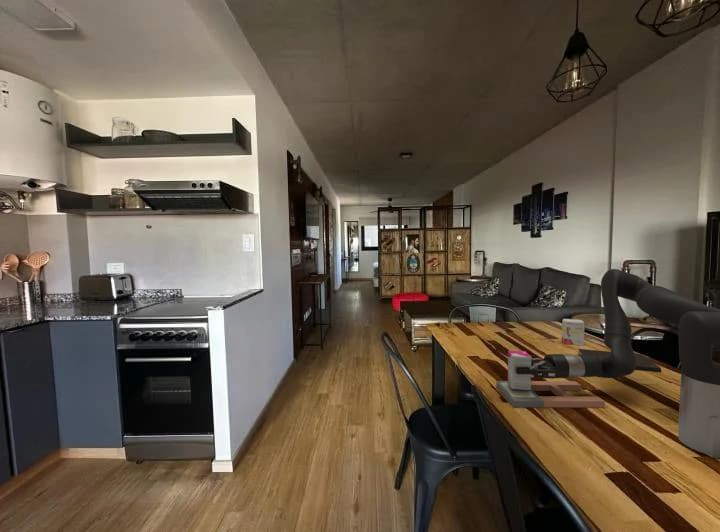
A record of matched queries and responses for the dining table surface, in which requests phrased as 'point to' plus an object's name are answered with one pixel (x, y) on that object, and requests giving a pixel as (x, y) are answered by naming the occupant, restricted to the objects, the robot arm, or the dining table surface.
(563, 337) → the ink box
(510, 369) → the supplement box
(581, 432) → the dining table surface
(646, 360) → the hardcover book
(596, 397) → the board
